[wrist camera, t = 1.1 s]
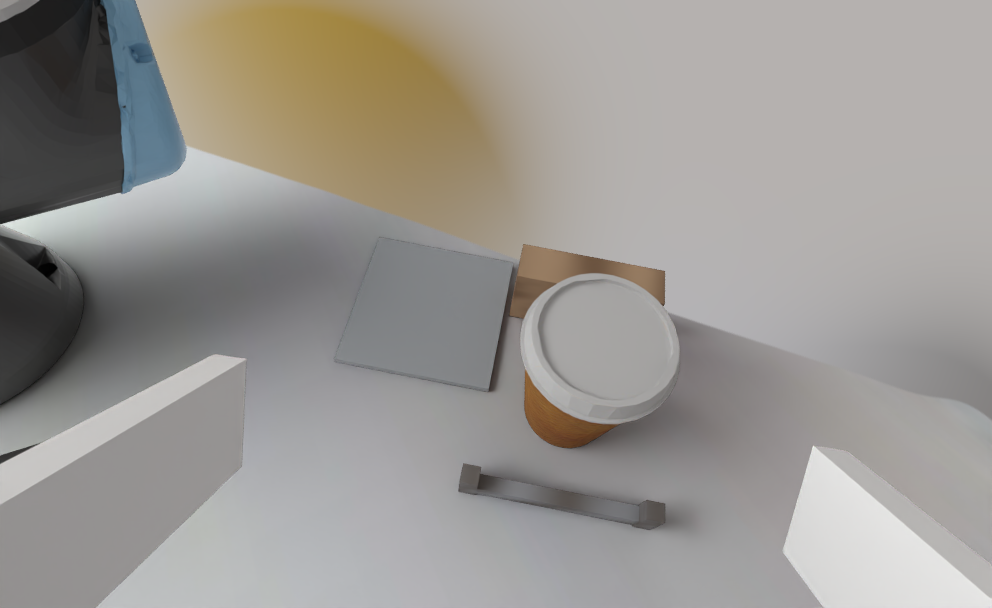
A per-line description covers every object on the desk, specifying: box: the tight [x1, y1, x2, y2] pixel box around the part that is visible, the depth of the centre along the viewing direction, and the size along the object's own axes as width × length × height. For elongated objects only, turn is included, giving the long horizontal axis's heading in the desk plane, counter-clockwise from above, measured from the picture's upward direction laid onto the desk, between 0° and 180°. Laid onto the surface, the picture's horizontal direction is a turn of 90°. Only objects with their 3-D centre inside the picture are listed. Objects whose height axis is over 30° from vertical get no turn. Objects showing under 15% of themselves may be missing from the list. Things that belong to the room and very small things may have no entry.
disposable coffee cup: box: [520, 273, 680, 448], centre depth 35 cm, size 10×10×12 cm
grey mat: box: [334, 237, 513, 392], centre depth 43 cm, size 12×12×1 cm
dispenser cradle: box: [459, 244, 665, 530], centre depth 38 cm, size 13×18×6 cm
